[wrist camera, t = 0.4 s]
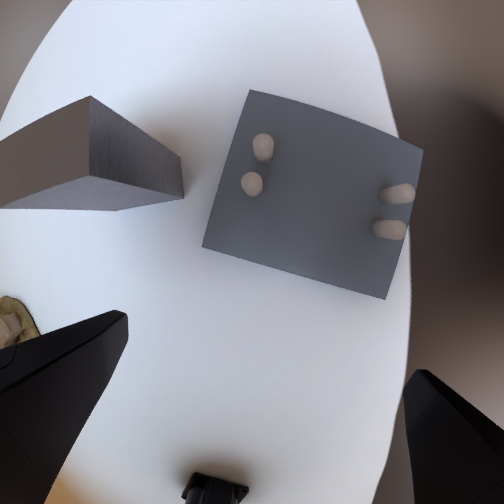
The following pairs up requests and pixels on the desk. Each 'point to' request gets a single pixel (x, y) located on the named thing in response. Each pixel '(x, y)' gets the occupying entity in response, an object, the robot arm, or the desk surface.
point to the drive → (86, 163)
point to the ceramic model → (14, 323)
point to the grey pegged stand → (314, 195)
